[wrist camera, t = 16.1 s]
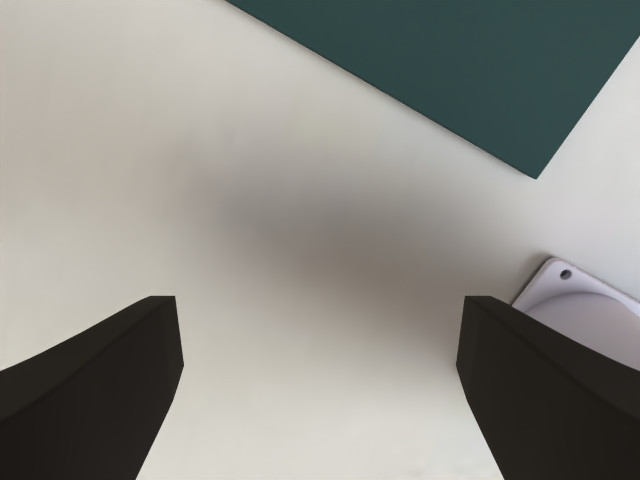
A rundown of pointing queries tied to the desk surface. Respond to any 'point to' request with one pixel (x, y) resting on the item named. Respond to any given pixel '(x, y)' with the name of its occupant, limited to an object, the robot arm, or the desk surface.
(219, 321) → the desk surface
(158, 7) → the desk surface
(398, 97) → the mat
